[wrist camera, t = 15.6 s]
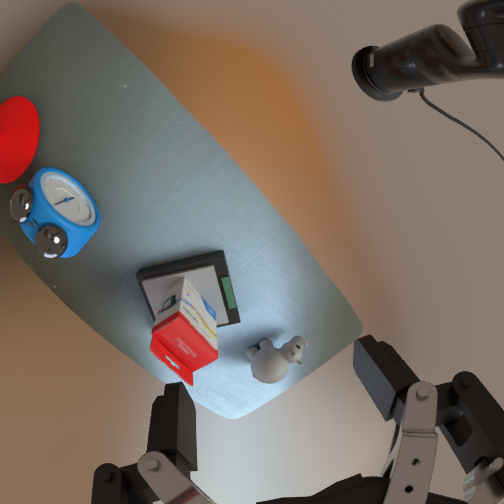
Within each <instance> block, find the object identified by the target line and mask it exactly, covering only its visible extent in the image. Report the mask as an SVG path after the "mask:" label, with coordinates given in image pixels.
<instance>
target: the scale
mask: <svg viewBox="0 0 504 504" xmlns="http://www.w3.org/2000/svg"><path fill="white" fill-rule="evenodd" d="M184 277H185V278H186V279H187V280H188V281H189V282H190V283H191V285H192V286H193V287H194V288H195V289H196V291H197V292H198V293H199V294H200V295H201V296H202V297H203V299H204V300H205V301H206V302H207V303H208V304H209V305H210V307H211V308H212V309H213V310H214V311H215V312H216V325H217V327H221V326H226V325H231V324H235V323H240V317H239V312H238V308H237V304H236V300H235V296H234V292H233V288H232V284H231V280H230V276H229V271H228V267H227V263H226V259H225V254H224V251H218V252H214V253H210V254H205V255H201V256H196V257H192V258H188V259H183V260H179V261H174V262H170V263H166V264H161V265H157V266H153V267H148V268H144V269H140V270H138V272H137V274H136V278H137V281H138V284H139V286H140V289H141V292H142V294H143V297H144V299H145V302H146V304H147V307H148V309H149V312H150V314H151V316H152V319H153V321H154V323H155V319H156V316H157V312H158V309H159V305H160V302H161V298H162V295H163V293H164V292H165V291H166V290H168V289H169V288H170V287H172V286H173V285H175V284H176V283H177V282H179V281H180V280H181V279H183V278H184Z"/></svg>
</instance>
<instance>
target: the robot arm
mask: <svg viewBox="0 0 504 504" xmlns="http://www.w3.org/2000/svg"><path fill="white" fill-rule="evenodd" d="M457 17H458V19H459V22H460V24H461V26H462V28H463V30H464V31H465V34H466V36H467V38H468V41H469V42H470V45H471V47H472V49H473V51H472V49H470V48H469V46H468V45H467V44H466V43H465V42H464V41H463V39H462V38H461V37H460V36H459V35H458V34H457V33H456V32H455V31H454V30H453V29H451V28H449V27H448V26H446V25H443V24H434V25H431V26H428V27H426V28H423V29H421V30H418V31H416V32H414V33H411V34H409V35H406V36H404V37H402V38H399V39H397V40H395V41H393V42H391V43H388V44H386V45H384V46H382V47H380V48H378V49H376V50H373V51H370V52H368V53H367V54H366V55H365V56H364V57H363V60H362V71H363V74H364V76H365V78H366V80H367V81H368V83H369V84H370V85H371V86H372V87H373V88H374V89H375V90H377V91H378V92H380V93H383V94H393V93H396V92H400V91H405V90H408V92H412V93H416V92H420V96H421V98H422V99H423V100H424V101H425V102H426V103H427V104H428V105H429V106H431V107H432V108H434V109H435V110H437V111H438V112H440V113H441V114H443V115H444V116H446V117H447V118H449V119H451V120H453V121H455V122H457V123H458V124H460V125H462V126H463V127H465V128H467V129H468V130H470V131H471V132H473V133H474V134H476V135H477V136H478V137H480V138H481V139H482V140H484V141H485V142H486V143H487V144H488V145H489V146H490V147H492V148H493V149H494V150H495V151H496V152H497V154H498V155H499V156H500V157H501V158H502V159H503V161H504V157H503V156H502V155H501V154H500V152H499V151H498V150H497V149H496V148H495V147H494V146H493V145H492V144H491V143H490V142H489V141H488V140H486V139H485V138H484V137H483V136H481V135H480V134H479V133H478V132H476V131H475V130H473V129H472V128H471V127H469V126H467V125H466V124H464V123H463V122H461V121H460V120H458V119H456V118H454V117H452V116H450V115H449V114H447V113H446V112H444V111H443V110H441V109H440V108H438V107H437V106H435V105H434V104H432V103H431V102H429V101H428V100H427V99H426V97H425V96H424V88H423V87H426V86H432V85H439V84H445V83H452V82H459V81H465V80H475V79H504V0H469V1H467V2H465V3H463V4H462V5H461V6H459V8H458V9H457ZM353 367H354V370H355V372H356V374H357V376H358V377H359V379H360V381H361V382H362V384H363V385H364V387H365V389H366V390H367V392H368V393H369V395H370V396H371V398H372V400H373V402H374V403H375V405H376V406H377V408H378V410H379V411H380V413H381V414H382V416H383V418H384V420H385V421H388V420H390V419H392V418H393V419H394V420H395V422H396V424H395V427H394V431H393V436H392V440H391V444H390V448H389V452H388V455H387V459H386V461H385V464H384V466H383V469H382V472H381V475H380V477H377V476H375V477H374V476H370V477H362V476H361V474H357V475H355V476H352V477H349V478H347V479H344V480H341V481H338V482H336V483H334V484H332V485H331V486H329V487H327V488H325V489H324V490H322V491H320V492H318V493H316V494H315V495H312V496H307V497H285V498H278V499H273V500H268V501H263V502H257V503H256V504H497V503H498V502H499V501H500V500H501V499H503V498H504V411H503V409H502V408H501V406H500V405H499V404H498V403H497V402H496V400H495V399H494V398H493V396H492V395H491V394H490V393H489V392H488V391H487V389H486V388H485V386H483V384H482V383H481V382H480V380H479V379H478V378H477V377H476V376H475V375H474V374H473V373H471V372H468V371H463V372H459V373H457V374H456V375H455V376H454V378H453V380H452V382H448V383H444V384H440V385H433V384H431V383H429V382H426V381H420V380H419V378H418V377H417V376H416V375H415V374H414V372H413V371H412V370H411V369H410V367H409V366H408V365H407V364H406V363H405V361H404V360H402V358H401V357H400V356H399V354H397V352H396V351H395V350H394V348H393V347H392V346H391V345H389V344H387V343H385V342H384V341H381V342H377V341H376V340H375V339H374V338H373V336H371V335H367V336H364V337H361V338H358V339H356V340H355V341H354V353H353ZM150 422H151V423H150V427H149V435H148V445H147V451H146V453H145V454H144V455H142V456H141V458H140V459H139V461H138V462H137V463H135V464H132V465H128V466H124V467H120V468H118V467H117V466H115V465H114V464H111V463H105V464H102V465H100V466H99V467H98V468H97V469H96V470H95V473H94V479H93V488H92V500H91V504H153V502H155V501H159V500H161V501H162V502H163V503H164V504H216V503H215V502H214V501H213V500H212V499H210V497H208V496H207V495H206V494H205V493H204V492H203V491H202V490H201V489H200V488H199V487H198V486H197V485H195V483H194V482H193V481H192V480H191V479H190V471H197V470H198V468H197V445H196V410H195V406H194V403H193V400H192V399H191V397H190V395H189V393H188V391H187V390H186V388H185V386H184V384H183V383H182V382H177V383H170V384H166V385H165V390H164V395H163V396H157V398H156V399H155V401H154V403H153V405H152V411H151V419H150ZM437 426H439V428H440V430H441V431H442V433H443V435H444V436H445V438H446V440H447V441H448V443H449V445H450V446H451V448H452V450H453V451H454V453H455V455H456V456H457V458H458V460H459V461H460V463H461V465H462V467H463V469H464V471H465V473H466V474H467V475H466V477H465V479H464V482H463V490H464V491H465V497H464V500H459V499H455V498H450V497H446V496H442V495H438V494H434V493H431V492H428V491H429V487H430V482H431V477H432V473H433V468H434V462H435V456H436V450H437V442H438V434H437V433H435V427H437Z"/></svg>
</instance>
